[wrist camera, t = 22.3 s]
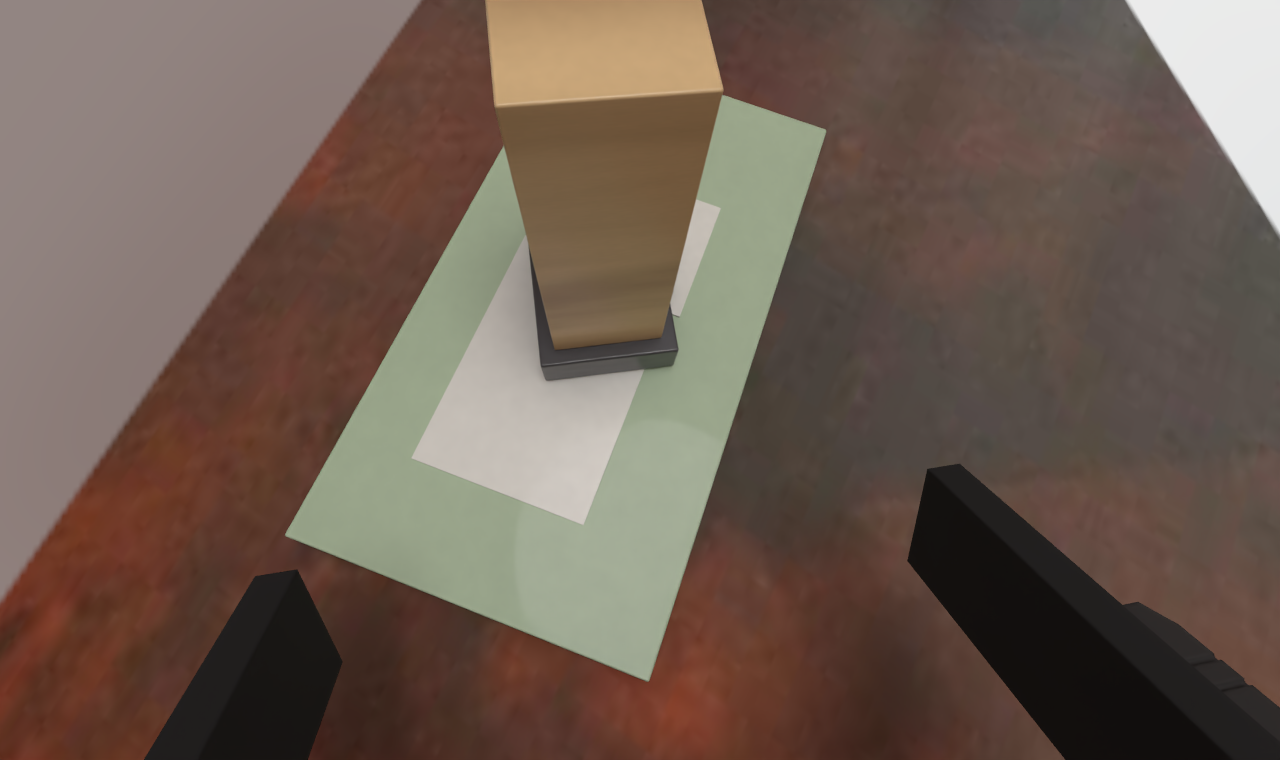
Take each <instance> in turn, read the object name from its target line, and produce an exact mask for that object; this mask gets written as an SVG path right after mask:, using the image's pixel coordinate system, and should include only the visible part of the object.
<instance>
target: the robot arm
mask: <svg viewBox="0 0 1280 760" xmlns="http://www.w3.org/2000/svg"><path fill="white" fill-rule="evenodd" d="M908 562H909V563H910V565H911V566H912V567H913V569H914V570H915V571H916V572H917V574H918V575H919V576H920V577H921V579H922V580H923V581H924V582H925V584H926V585H927V586H928V587H929V589H930V590H931V591H932V592H933V594H934V595H935V596H936V597H937V599H938V600H939V601H940V602H941V604H942V605H943V606H944V608H945V609H946V610H947V611H948V613H949V614H950V615H951V616H952V618H953V619H954V620H955V621H956V623H957V624H958V625H959V626H960V628H961V629H962V630H963V631H964V633H965V634H966V635H967V636H968V638H969V639H970V640H971V641H972V643H973V644H974V645H975V647H976V648H977V649H978V650H979V652H980V653H981V654H982V655H983V657H984V658H985V659H986V660H987V662H988V663H989V664H990V665H991V667H992V668H993V669H994V670H995V672H996V673H997V674H998V675H999V677H1000V678H1001V679H1002V680H1003V682H1004V683H1005V684H1006V686H1007V687H1008V688H1009V689H1010V691H1011V692H1012V693H1013V694H1014V696H1015V697H1016V698H1017V699H1018V701H1019V702H1020V703H1021V704H1022V706H1023V707H1024V708H1025V709H1026V711H1027V712H1028V713H1029V714H1030V716H1031V717H1032V718H1033V720H1034V721H1035V722H1036V723H1037V725H1038V726H1039V727H1040V728H1041V730H1042V731H1043V732H1044V733H1045V735H1046V736H1047V737H1048V738H1049V740H1050V741H1051V742H1052V743H1053V745H1054V746H1055V747H1056V748H1057V750H1058V751H1059V752H1060V753H1061V755H1062V756H1063V757H1064V759H1065V760H1280V708H1279V707H1278V706H1277V705H1276V704H1275V703H1273V702H1272V701H1271V700H1270V699H1269V698H1267V697H1266V696H1265V695H1264V694H1262V693H1261V692H1260V691H1259V690H1258V689H1256V688H1255V687H1254V686H1253V685H1248V684H1246V683H1245V681H1244V678H1243V677H1242V676H1241V675H1239V674H1238V673H1237V672H1236V671H1234V670H1233V669H1232V668H1231V667H1230V666H1228V665H1227V664H1226V663H1225V662H1224V661H1222V660H1217V659H1216V658H1215V656H1214V653H1213V652H1211V651H1210V650H1209V649H1208V648H1206V647H1205V646H1204V645H1203V644H1202V643H1200V642H1199V641H1198V640H1197V639H1196V638H1194V637H1193V636H1192V635H1191V634H1189V633H1188V632H1187V631H1186V630H1185V629H1183V628H1182V627H1181V626H1180V625H1178V624H1177V623H1175V622H1173V621H1171V620H1169V619H1168V618H1166V617H1164V616H1162V615H1161V614H1159V613H1157V612H1155V611H1153V610H1152V609H1150V608H1148V607H1146V606H1144V605H1143V604H1141V603H1139V602H1135V603H1130V604H1125V605H1122V604H1121V603H1120V602H1118V601H1117V600H1116V599H1115V598H1114V597H1113V596H1111V595H1110V594H1109V593H1108V592H1107V591H1106V590H1105V589H1103V588H1102V587H1101V586H1100V585H1099V584H1098V583H1096V582H1095V581H1094V580H1093V579H1092V578H1091V577H1090V576H1088V575H1087V574H1086V573H1085V572H1084V571H1083V570H1081V569H1080V568H1079V567H1078V566H1077V565H1076V564H1075V563H1073V562H1072V561H1071V560H1070V559H1069V558H1068V557H1067V556H1065V555H1064V554H1063V553H1062V552H1061V551H1060V550H1058V549H1057V548H1056V547H1055V546H1054V545H1053V544H1052V543H1050V542H1049V541H1048V540H1047V539H1046V538H1045V537H1043V536H1042V535H1041V534H1040V533H1039V532H1038V531H1037V530H1035V529H1034V528H1033V527H1032V526H1031V525H1030V524H1028V523H1027V522H1026V521H1025V520H1024V519H1023V518H1022V517H1020V516H1019V515H1018V514H1017V513H1016V512H1015V511H1013V510H1012V509H1011V508H1010V507H1009V506H1008V505H1007V504H1005V503H1004V502H1003V501H1002V500H1001V499H1000V498H999V497H997V496H996V495H995V494H994V493H993V492H992V491H990V490H989V489H988V488H987V487H986V486H985V485H984V484H982V483H981V482H980V481H979V480H978V479H977V478H975V477H974V476H973V475H972V474H971V473H970V472H969V471H967V470H966V469H965V468H964V467H963V466H962V465H960V464H955V465H949V466H943V467H937V468H930V469H927V474H926V478H925V483H924V487H923V492H922V497H921V501H920V506H919V510H918V515H917V519H916V524H915V529H914V533H913V538H912V542H911V547H910V552H909V556H908ZM341 665H342V660H341V658H340V655H339V653H338V651H337V649H336V647H335V645H334V643H333V641H332V639H331V637H330V635H329V633H328V631H327V629H326V627H325V625H324V623H323V621H322V619H321V617H320V615H319V613H318V611H317V609H316V607H315V605H314V603H313V600H312V598H311V596H310V594H309V592H308V590H307V588H306V586H305V584H304V582H303V580H302V578H301V576H300V574H299V572H298V570H291V571H285V572H279V573H273V574H266V575H260V576H255V578H254V579H253V581H252V582H251V584H250V586H249V587H248V589H247V591H246V592H245V594H244V596H243V597H242V599H241V601H240V602H239V604H238V606H237V607H236V609H235V610H234V612H233V614H232V615H231V617H230V619H229V620H228V622H227V624H226V625H225V627H224V629H223V630H222V632H221V634H220V635H219V637H218V638H217V640H216V642H215V643H214V645H213V647H212V648H211V650H210V652H209V653H208V655H207V657H206V658H205V660H204V662H203V663H202V665H201V667H200V668H199V670H198V671H197V673H196V675H195V676H194V678H193V680H192V681H191V683H190V685H189V686H188V688H187V690H186V691H185V693H184V695H183V696H182V698H181V699H180V701H179V703H178V704H177V706H176V708H175V709H174V711H173V713H172V714H171V716H170V718H169V719H168V721H167V723H166V724H165V726H164V727H163V729H162V731H161V732H160V734H159V736H158V737H157V739H156V741H155V742H154V744H153V746H152V747H151V749H150V751H149V752H148V754H147V756H146V757H145V759H144V760H308V757H309V754H310V751H311V749H312V746H313V743H314V740H315V737H316V735H317V732H318V729H319V726H320V723H321V721H322V718H323V715H324V712H325V710H326V707H327V704H328V701H329V698H330V696H331V693H332V690H333V687H334V684H335V682H336V679H337V676H338V673H339V670H340V668H341Z"/></svg>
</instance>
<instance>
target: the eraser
mask: <svg viewBox="0 0 1280 760" xmlns="http://www.w3.org/2000/svg"><path fill="white" fill-rule="evenodd" d="M485 5H486V17H487V29H488V40H489V52H490V63H491V75H492V87H493V98H494V108H495V112H496V116H497V120H498V124H499V128H500V132H501V136H502V140H503V144H504V148H505V152H506V156H507V160H508V164H509V168H510V172H511V176H512V180H513V184H514V188H515V192H516V196H517V200H518V204H519V208H520V212H521V216H522V220H523V224H524V228H525V233H526V237H527V241H528V246H529V256H530V266H531V276H532V286H533V296H534V306H535V316H536V326H537V336H538V346H539V356H540V366H541V369H542V372H543V375H544V378H545V380H546V381H550V380H558V379H566V378H574V377H583V376H591V375H599V374H607V373H615V372H623V371H631V370H640V369H648V368H656V367H664V366H672V365H674V362H675V359H676V356H677V353H678V350H679V348H678V343H677V337H676V332H675V326H674V321H673V315H672V310H671V304H670V301H671V297H672V293H673V289H674V285H675V281H676V278H677V274H678V270H679V266H680V262H681V258H682V254H683V250H684V246H685V242H686V238H687V234H688V230H689V226H690V222H691V218H692V214H693V210H694V206H695V202H696V198H697V194H698V190H699V186H700V182H701V178H702V174H703V170H704V166H705V162H706V158H707V154H708V150H709V146H710V142H711V138H712V134H713V130H714V126H715V122H716V118H717V114H718V110H719V106H720V102H721V98H722V94H723V86H722V82H721V78H720V74H719V70H718V66H717V61H716V57H715V53H714V49H713V45H712V41H711V37H710V33H709V29H708V25H707V21H706V17H705V13H704V9H703V5H702V1H701V0H485Z"/></svg>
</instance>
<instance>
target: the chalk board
mask: <svg viewBox="0 0 1280 760" xmlns="http://www.w3.org/2000/svg"><path fill="white" fill-rule="evenodd" d="M825 135H826V130H825V129H822V128H819V127H816V126H813V125H810V124H807V123H804V122H801V121H798V120H795V119H792V118H789V117H786V116H783V115H780V114H777V113H775V112H772V111H769V110H766V109H763V108H760V107H757V106H754V105H751V104H748V103H745V102H742V101H739V100H736V99H733V98H730V97H727V96H724V95H722V98H721V102H720V106H719V110H718V114H717V118H716V122H715V126H714V130H713V134H712V138H711V142H710V146H709V150H708V154H707V158H706V162H705V166H704V170H703V174H702V178H701V182H700V186H699V190H698V194H697V198H696V202H695V206H694V210H693V214H692V218H691V222H690V226H689V230H688V234H687V238H686V242H685V246H684V250H683V254H682V258H681V262H680V266H679V270H678V274H677V278H676V281H675V285H674V289H673V293H672V297H671V301H670V304H671V310H672V315H673V321H674V326H675V332H676V337H677V343H678V348H679V350H678V353H677V356H676V359H675V362H674V365H672V366H664V367H656V368H648V369H640V370H631V371H623V372H615V373H607V374H599V375H591V376H583V377H574V378H566V379H558V380H550V381H546V380H545V378H544V375H543V372H542V369H541V366H540V356H539V346H538V336H537V326H536V316H535V306H534V296H533V286H532V276H531V266H530V256H529V246H528V241H527V237H526V233H525V228H524V224H523V220H522V216H521V212H520V208H519V204H518V200H517V196H516V192H515V188H514V184H513V180H512V176H511V172H510V168H509V164H508V160H507V156H506V152H505V148H504V146H503V148H502V150H501V152H500V153H499V155H498V157H497V159H496V160H495V162H494V164H493V166H492V168H491V169H490V171H489V173H488V175H487V176H486V178H485V180H484V182H483V184H482V185H481V187H480V189H479V191H478V192H477V194H476V196H475V198H474V200H473V201H472V203H471V205H470V207H469V208H468V210H467V212H466V214H465V216H464V217H463V219H462V221H461V223H460V224H459V226H458V228H457V230H456V232H455V233H454V235H453V237H452V239H451V240H450V242H449V244H448V246H447V248H446V249H445V251H444V253H443V255H442V256H441V258H440V260H439V262H438V264H437V265H436V267H435V269H434V271H433V272H432V274H431V276H430V278H429V280H428V281H427V283H426V285H425V287H424V288H423V290H422V292H421V294H420V296H419V297H418V299H417V301H416V303H415V304H414V306H413V308H412V310H411V312H410V313H409V315H408V317H407V319H406V320H405V322H404V324H403V326H402V328H401V329H400V331H399V333H398V335H397V337H396V338H395V340H394V342H393V344H392V345H391V347H390V349H389V351H388V353H387V354H386V356H385V358H384V360H383V361H382V363H381V365H380V367H379V369H378V370H377V372H376V374H375V376H374V377H373V379H372V381H371V383H370V385H369V386H368V388H367V390H366V392H365V393H364V395H363V397H362V399H361V401H360V402H359V404H358V406H357V408H356V409H355V411H354V413H353V415H352V417H351V418H350V420H349V422H348V424H347V425H346V427H345V429H344V431H343V433H342V434H341V436H340V438H339V440H338V441H337V443H336V445H335V447H334V449H333V450H332V452H331V454H330V456H329V457H328V459H327V461H326V463H325V465H324V466H323V468H322V470H321V472H320V473H319V475H318V477H317V479H316V481H315V482H314V484H313V486H312V488H311V489H310V491H309V493H308V495H307V497H306V498H305V500H304V502H303V504H302V505H301V507H300V509H299V511H298V513H297V514H296V516H295V518H294V520H293V521H292V523H291V525H290V527H289V529H288V530H287V532H286V534H285V536H286V537H289V538H291V539H294V540H296V541H299V542H301V543H304V544H306V545H309V546H311V547H314V548H316V549H319V550H321V551H324V552H326V553H329V554H331V555H334V556H336V557H339V558H341V559H343V560H346V561H348V562H351V563H353V564H356V565H358V566H361V567H363V568H366V569H368V570H371V571H373V572H376V573H378V574H381V575H383V576H386V577H388V578H391V579H393V580H396V581H398V582H401V583H403V584H406V585H408V586H411V587H413V588H416V589H418V590H421V591H423V592H426V593H428V594H431V595H433V596H435V597H438V598H440V599H443V600H445V601H448V602H450V603H453V604H455V605H458V606H460V607H463V608H465V609H468V610H470V611H473V612H475V613H478V614H480V615H483V616H485V617H488V618H490V619H493V620H495V621H498V622H500V623H503V624H505V625H508V626H510V627H513V628H515V629H518V630H520V631H523V632H525V633H527V634H530V635H532V636H535V637H537V638H540V639H542V640H545V641H547V642H550V643H552V644H555V645H557V646H560V647H562V648H565V649H567V650H570V651H572V652H575V653H577V654H580V655H582V656H585V657H587V658H590V659H592V660H595V661H597V662H600V663H602V664H605V665H607V666H610V667H612V668H615V669H617V670H619V671H622V672H624V673H627V674H629V675H632V676H634V677H637V678H639V679H642V680H644V681H649V680H650V677H651V674H652V671H653V668H654V665H655V661H656V658H657V655H658V652H659V649H660V646H661V643H662V640H663V637H664V634H665V630H666V627H667V624H668V621H669V618H670V615H671V612H672V609H673V606H674V603H675V599H676V596H677V593H678V590H679V587H680V584H681V581H682V578H683V575H684V572H685V568H686V565H687V562H688V559H689V556H690V553H691V550H692V547H693V544H694V541H695V537H696V534H697V531H698V528H699V525H700V522H701V519H702V516H703V513H704V510H705V506H706V503H707V500H708V497H709V494H710V491H711V488H712V485H713V482H714V479H715V475H716V472H717V469H718V466H719V463H720V460H721V457H722V454H723V451H724V448H725V444H726V441H727V438H728V435H729V432H730V429H731V426H732V423H733V420H734V417H735V413H736V410H737V407H738V404H739V401H740V398H741V395H742V392H743V389H744V386H745V382H746V379H747V376H748V373H749V370H750V367H751V364H752V361H753V358H754V355H755V351H756V348H757V345H758V342H759V339H760V336H761V333H762V330H763V327H764V324H765V320H766V317H767V314H768V311H769V308H770V305H771V302H772V299H773V296H774V293H775V289H776V286H777V283H778V280H779V277H780V274H781V271H782V268H783V265H784V262H785V259H786V255H787V252H788V249H789V246H790V243H791V240H792V237H793V234H794V231H795V228H796V224H797V221H798V218H799V215H800V212H801V209H802V206H803V203H804V200H805V197H806V193H807V190H808V187H809V184H810V181H811V178H812V175H813V172H814V169H815V166H816V162H817V159H818V156H819V153H820V150H821V147H822V144H823V141H824V138H825Z"/></svg>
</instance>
